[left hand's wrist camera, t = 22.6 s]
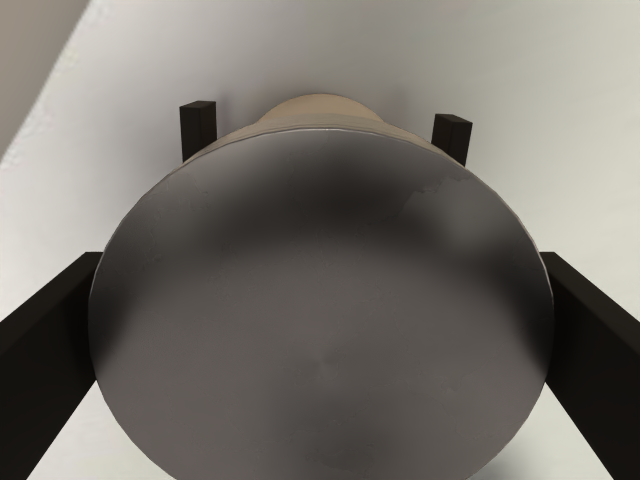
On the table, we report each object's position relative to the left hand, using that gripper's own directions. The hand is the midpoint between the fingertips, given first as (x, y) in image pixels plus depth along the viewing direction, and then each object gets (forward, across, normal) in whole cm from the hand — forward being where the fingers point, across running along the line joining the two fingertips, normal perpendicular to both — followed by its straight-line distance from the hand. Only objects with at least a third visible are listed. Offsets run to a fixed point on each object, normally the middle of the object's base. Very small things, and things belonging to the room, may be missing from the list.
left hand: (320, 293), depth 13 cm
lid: (-3, 0, 0) cm, 3 cm away
